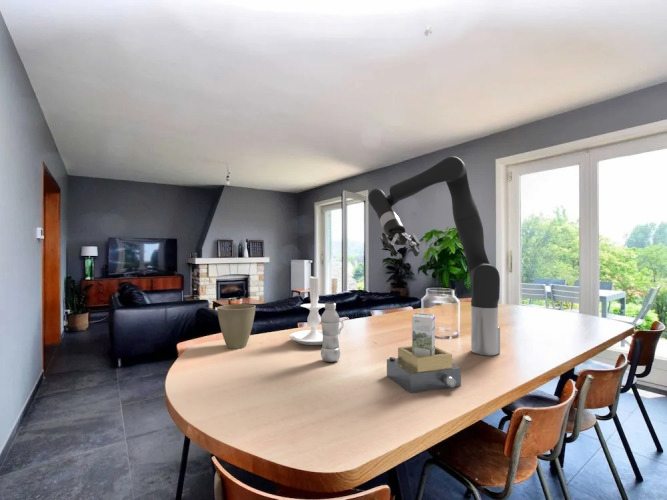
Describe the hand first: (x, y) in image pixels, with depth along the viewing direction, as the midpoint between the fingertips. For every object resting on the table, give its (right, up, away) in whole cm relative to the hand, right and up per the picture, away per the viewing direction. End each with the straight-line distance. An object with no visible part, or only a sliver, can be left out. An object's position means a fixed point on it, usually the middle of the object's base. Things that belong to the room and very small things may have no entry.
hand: (406, 254), depth 127 cm
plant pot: (-65, -37, +14) cm, 76 cm away
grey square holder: (0, -36, -26) cm, 45 cm away
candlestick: (-33, -37, +20) cm, 53 cm away
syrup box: (0, -32, -25) cm, 40 cm away
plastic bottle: (-28, -37, -6) cm, 46 cm away
